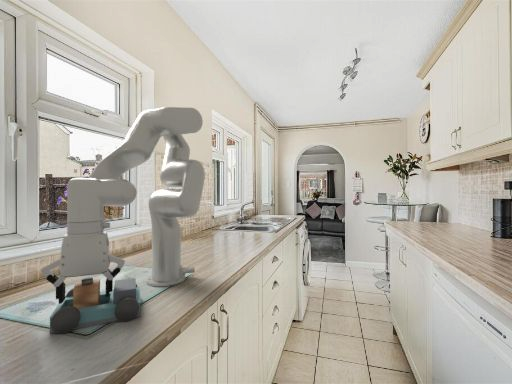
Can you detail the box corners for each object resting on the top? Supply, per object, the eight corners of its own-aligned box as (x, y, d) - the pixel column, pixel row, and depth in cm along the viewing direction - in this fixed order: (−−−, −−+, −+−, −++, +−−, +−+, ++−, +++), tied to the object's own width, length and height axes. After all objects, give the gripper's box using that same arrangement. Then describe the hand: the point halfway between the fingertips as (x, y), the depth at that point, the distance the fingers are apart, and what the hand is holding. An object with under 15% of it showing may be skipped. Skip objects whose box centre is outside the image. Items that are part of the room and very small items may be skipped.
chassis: (139, 296, 77) (139, 274, 77) (140, 318, 63) (140, 291, 63) (63, 308, 69) (63, 283, 69) (48, 336, 56) (48, 305, 56)
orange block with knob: (100, 305, 68) (100, 275, 68) (98, 313, 64) (98, 281, 64) (77, 309, 66) (77, 277, 66) (73, 318, 62) (73, 284, 62)
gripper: (125, 224, 72) (125, 287, 72) (46, 228, 64) (46, 298, 64) (124, 228, 65) (124, 297, 65) (36, 232, 57) (36, 311, 57)
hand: (85, 297), depth 65 cm, fingers open, 9 cm apart
